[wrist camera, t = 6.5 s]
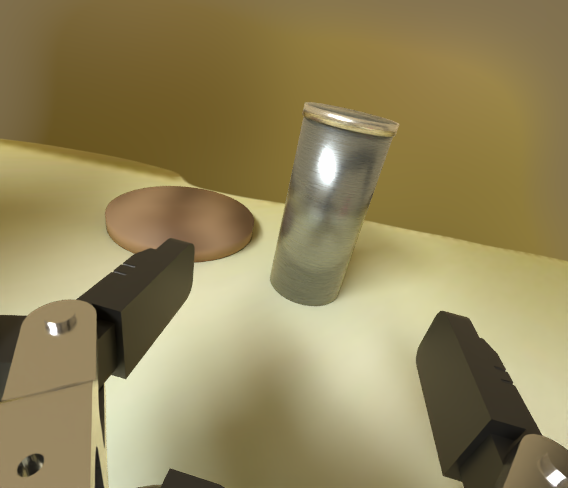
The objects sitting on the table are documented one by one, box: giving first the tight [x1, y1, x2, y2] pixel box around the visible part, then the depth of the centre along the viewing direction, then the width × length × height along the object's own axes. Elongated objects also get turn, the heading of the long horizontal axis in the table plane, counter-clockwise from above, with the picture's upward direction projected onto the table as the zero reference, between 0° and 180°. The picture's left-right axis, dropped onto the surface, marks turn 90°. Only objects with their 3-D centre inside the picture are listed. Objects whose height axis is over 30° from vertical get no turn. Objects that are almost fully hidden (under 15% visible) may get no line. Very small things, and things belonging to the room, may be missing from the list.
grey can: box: [270, 102, 399, 306], centre depth 21 cm, size 5×5×12 cm
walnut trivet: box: [105, 186, 254, 262], centre depth 27 cm, size 12×12×1 cm
